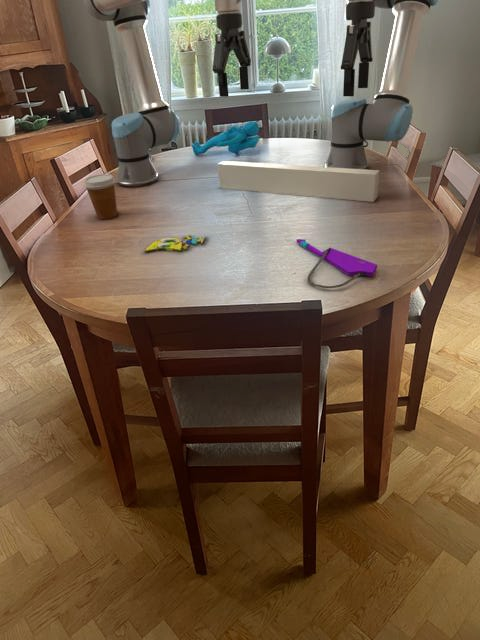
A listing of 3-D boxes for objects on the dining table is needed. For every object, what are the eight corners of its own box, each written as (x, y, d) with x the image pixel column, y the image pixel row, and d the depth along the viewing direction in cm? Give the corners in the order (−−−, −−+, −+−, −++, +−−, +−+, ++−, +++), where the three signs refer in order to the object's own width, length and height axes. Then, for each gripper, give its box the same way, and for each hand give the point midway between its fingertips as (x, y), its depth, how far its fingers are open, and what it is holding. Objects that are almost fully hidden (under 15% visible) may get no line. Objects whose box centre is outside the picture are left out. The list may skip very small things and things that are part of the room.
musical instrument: (357, 300, 100) (389, 251, 113) (357, 292, 99) (389, 243, 111) (259, 284, 113) (297, 241, 125) (258, 277, 112) (296, 234, 124)
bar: (220, 188, 169) (217, 164, 165) (226, 184, 172) (223, 160, 168) (373, 202, 146) (375, 174, 141) (377, 197, 149) (379, 170, 145)
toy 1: (199, 248, 125) (143, 249, 127) (199, 251, 125) (144, 252, 127) (206, 233, 133) (154, 234, 135) (206, 236, 133) (154, 237, 136)
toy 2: (197, 135, 216) (259, 115, 206) (205, 158, 221) (266, 140, 211) (186, 144, 203) (252, 124, 192) (195, 169, 208) (260, 150, 198)
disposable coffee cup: (86, 219, 152) (76, 182, 146) (104, 209, 159) (95, 173, 153) (111, 222, 149) (102, 183, 142) (128, 211, 156) (120, 174, 149)
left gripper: (218, 14, 129) (225, 99, 140) (259, 10, 147) (262, 86, 158) (194, 16, 132) (203, 99, 144) (237, 12, 150) (242, 86, 162)
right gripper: (360, 1, 112) (355, 99, 124) (387, -2, 130) (380, 84, 142) (330, 4, 115) (328, 99, 127) (359, 1, 133) (355, 85, 145)
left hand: (234, 92), depth 151 cm, fingers open, 13 cm apart
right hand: (355, 92), depth 134 cm, fingers open, 13 cm apart
